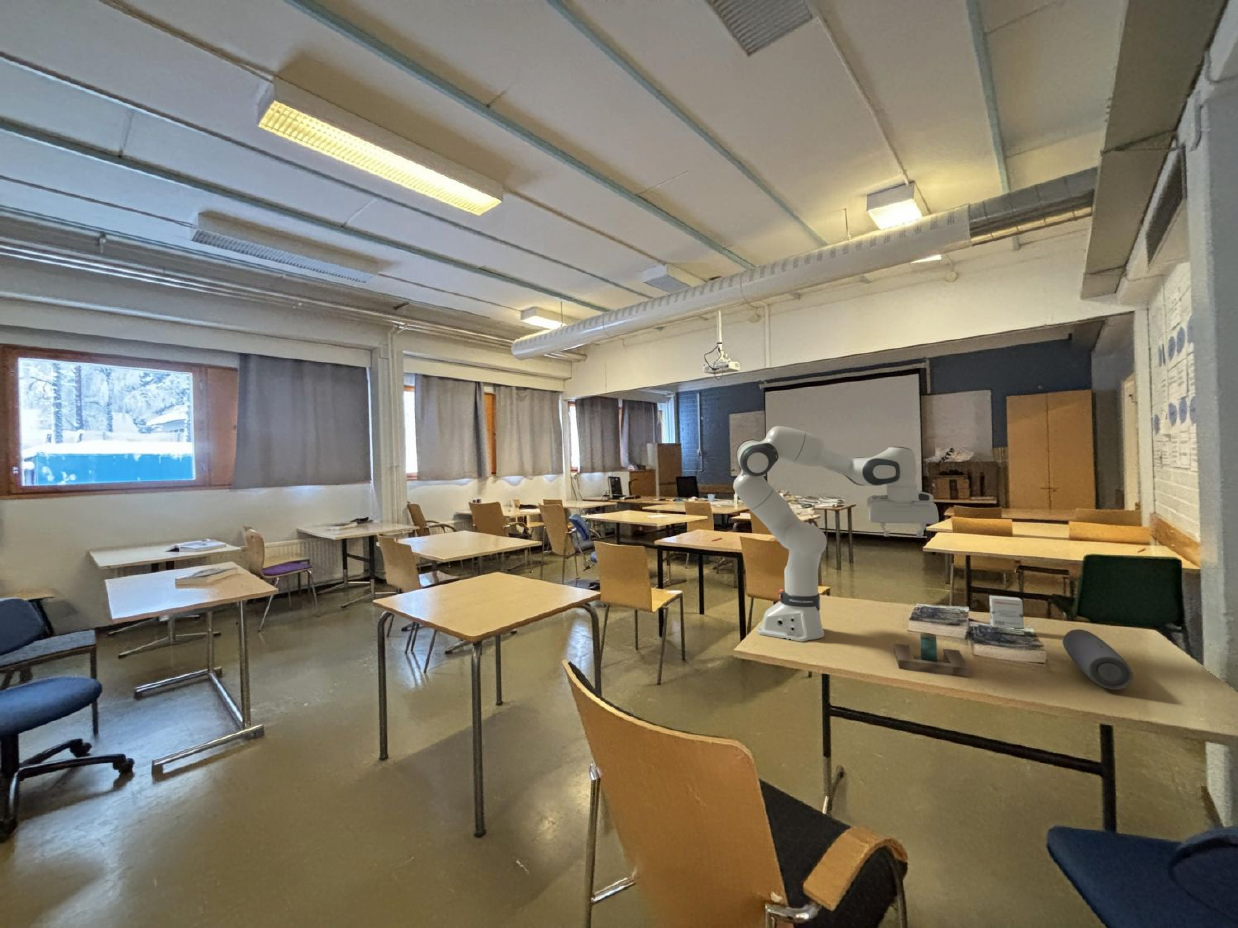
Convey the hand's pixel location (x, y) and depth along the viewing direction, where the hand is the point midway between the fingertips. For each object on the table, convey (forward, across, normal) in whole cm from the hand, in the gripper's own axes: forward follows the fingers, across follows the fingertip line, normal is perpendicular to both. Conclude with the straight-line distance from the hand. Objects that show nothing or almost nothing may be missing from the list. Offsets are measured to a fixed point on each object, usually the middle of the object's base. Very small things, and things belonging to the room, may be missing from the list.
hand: (903, 536), depth 165 cm
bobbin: (+34, +4, -19) cm, 39 cm away
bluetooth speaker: (+34, +43, -15) cm, 57 cm away
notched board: (+34, +4, -20) cm, 40 cm away
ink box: (+34, +32, +19) cm, 51 cm away
